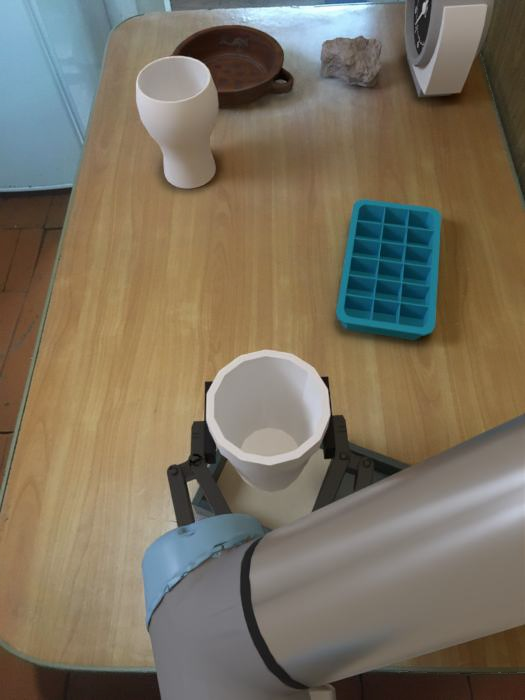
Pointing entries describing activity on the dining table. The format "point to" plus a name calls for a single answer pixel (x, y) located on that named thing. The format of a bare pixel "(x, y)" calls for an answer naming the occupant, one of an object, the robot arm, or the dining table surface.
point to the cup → (180, 116)
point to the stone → (352, 60)
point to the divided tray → (296, 497)
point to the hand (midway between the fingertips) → (266, 385)
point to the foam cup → (268, 416)
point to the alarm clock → (444, 42)
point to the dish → (239, 62)
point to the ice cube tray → (390, 270)
